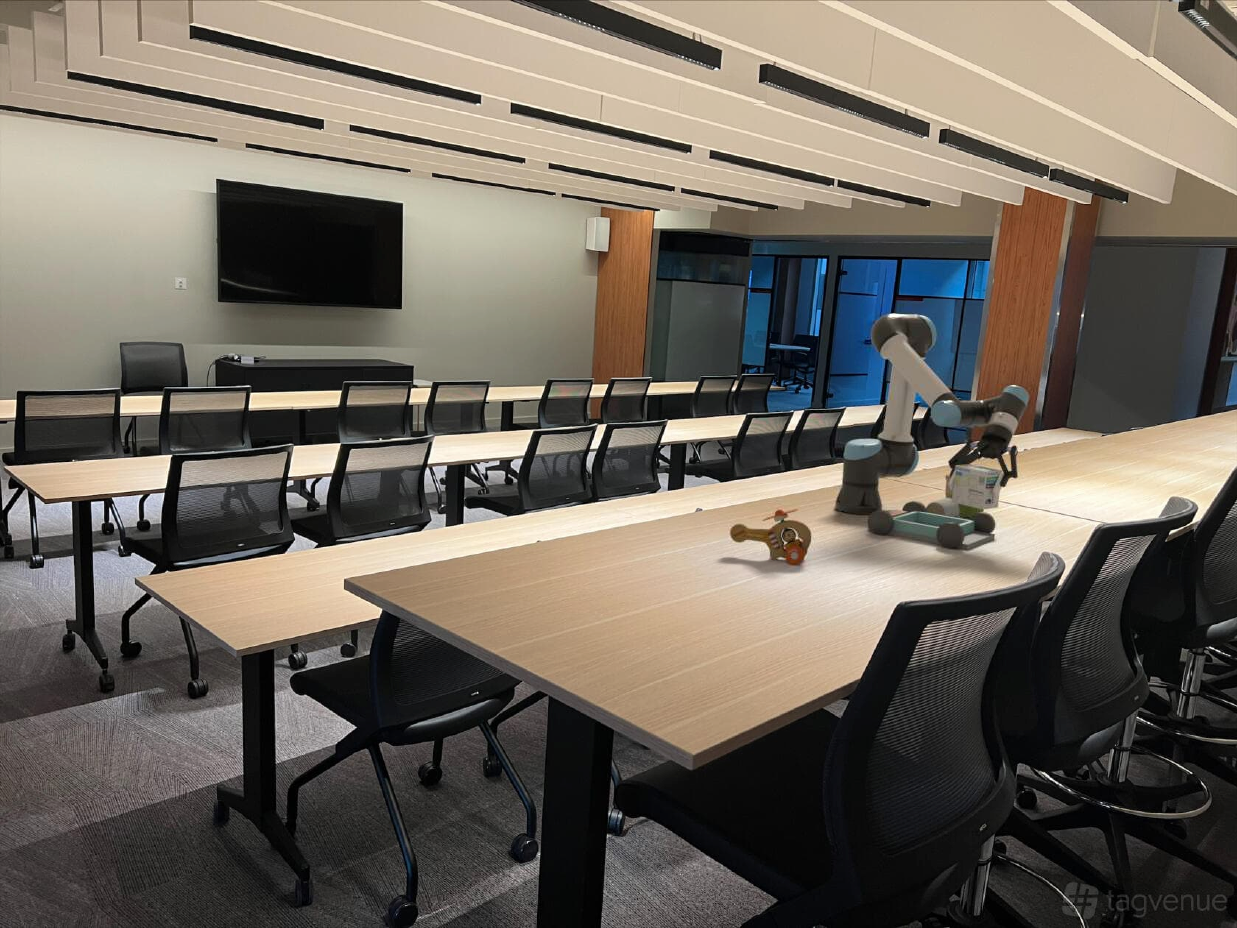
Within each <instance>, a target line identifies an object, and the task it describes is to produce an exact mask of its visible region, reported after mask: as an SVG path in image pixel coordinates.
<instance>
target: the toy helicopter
mask: <svg viewBox="0 0 1237 928" xmlns="http://www.w3.org/2000/svg"><path fill="white" fill-rule="evenodd" d="M797 511H799V509H792V510H791V509H790V510H787V511H783V509H777V510H775V512H774V515H772V516H768V517H766V518H763V519H762V520H761V521H762V522H765V521H767V520H771V519H774V520H773V521H774V522H777V523H776V524H774V525H773V526H772V527H770V528H750V527H748V526H747V525H746V524H744V523H736V524H734V525H733V526H732V527H731V528H730V529H729V531H730V532H729V533H730V534H729V536H730V538H731V539H732V541H733V542H736V543H744V542H745V541H754V542H758V543H759V542H760V543H765V544H766V546H767V548H768V549H769V558H771V560H774V559H775V560H778V559H779V558H782V559H785V560H786V561H787V562H788V563H789V564H791V565H795V566H796V565H800V564H801V563H802V562H803V561H804V559H805V558H806V557H805V556H807V554H808V550H809V548H810V546H811V543H812V531H811V529H810V528H809V526H808V525H807V524H805V523H804V522H802V521H799V520H794V519H788V520H785V519H787V518H789V514H790V513H794V512H797Z"/></svg>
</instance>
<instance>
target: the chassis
mask: <svg viewBox="0 0 1237 928" xmlns="http://www.w3.org/2000/svg"><path fill="white" fill-rule="evenodd" d="M926 507H927V506H925V504H924V503H923V502H921V501H918V500H911V501H908V502H906V503H905V504H904V505H903V506H902V509H901V510H900V509H894V510H889V511H888V510H885V509H882V510H878V511H875V512H873V513H871V514H868V515H869V516H868V517H867V532H872V533H873V534H875V535H879V536H880V535H888V536H895V537H899V538H903V539H910V540H912V541H913V540H915V541H919V542H925V543H929V544H934V545H939V546H942V547H943V548H945V549H954V548H956V549H961V550H966V551H968V550H971V549H973V548H976V547H978V546H980V545H983V544H986V543H989V542H990V541H993V540H995V536H996V534H995V533H993V532H994V531H995V529H996V520H995V519H994V517H993V516H992V514H990V513H988V512H985V511H983V512H979V513H976V514H974V515H972V516H971V517H970V518H969V519H965V518H961V517H960V518H961V519H960V518H954V517H948V516H943V515H937V514H931V513H927V510H926Z"/></svg>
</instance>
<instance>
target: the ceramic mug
mask: <svg viewBox="0 0 1237 928" xmlns="http://www.w3.org/2000/svg"><path fill="white" fill-rule="evenodd" d="M925 507H926V510H927V513H931V514H937V515H943V516H948V517H954V518H960V519H962V517H961V516H959V507H958V503H954V502H952V499H951V498H946V497H945V498H944V497H943V498H940V499H936V500H933V501H932V502H930V503H928V504H927V505H926V506H925Z"/></svg>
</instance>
